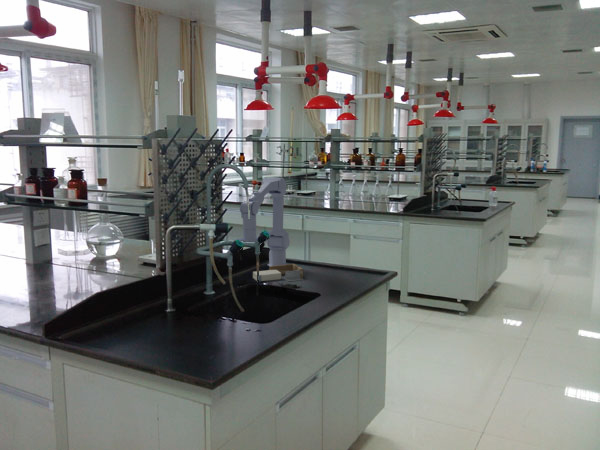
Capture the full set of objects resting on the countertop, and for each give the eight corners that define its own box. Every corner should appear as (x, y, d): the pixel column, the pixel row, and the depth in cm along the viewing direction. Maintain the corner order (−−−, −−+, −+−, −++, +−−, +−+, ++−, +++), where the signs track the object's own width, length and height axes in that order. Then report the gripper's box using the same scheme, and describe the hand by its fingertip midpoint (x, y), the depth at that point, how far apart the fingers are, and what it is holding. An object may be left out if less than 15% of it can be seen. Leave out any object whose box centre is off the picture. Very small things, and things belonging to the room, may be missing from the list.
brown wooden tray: (269, 274, 239) (269, 266, 239) (294, 272, 244) (294, 263, 243) (277, 280, 229) (277, 271, 229) (302, 277, 234) (302, 268, 233)
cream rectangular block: (253, 278, 234) (252, 271, 234) (276, 275, 238) (276, 269, 238) (257, 282, 228) (257, 275, 227) (281, 279, 232) (281, 273, 231)
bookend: (285, 279, 231) (285, 271, 231) (299, 277, 234) (299, 269, 233) (288, 281, 228) (288, 273, 227) (303, 279, 230) (303, 272, 230)
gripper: (235, 231, 219) (236, 262, 221) (268, 229, 225) (268, 259, 227) (231, 228, 226) (232, 259, 228) (263, 226, 231) (263, 256, 233)
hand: (250, 259), depth 228 cm, fingers open, 7 cm apart
